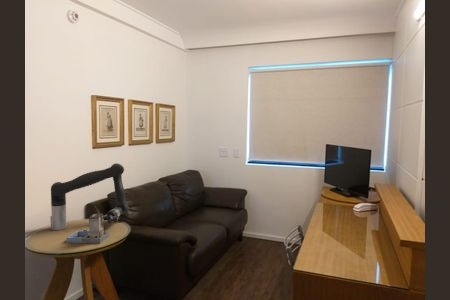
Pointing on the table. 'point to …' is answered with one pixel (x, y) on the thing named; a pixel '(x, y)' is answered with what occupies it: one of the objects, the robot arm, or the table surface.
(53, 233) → the table surface
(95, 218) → the coffee box
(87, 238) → the divided tray
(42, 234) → the table surface
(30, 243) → the table surface
